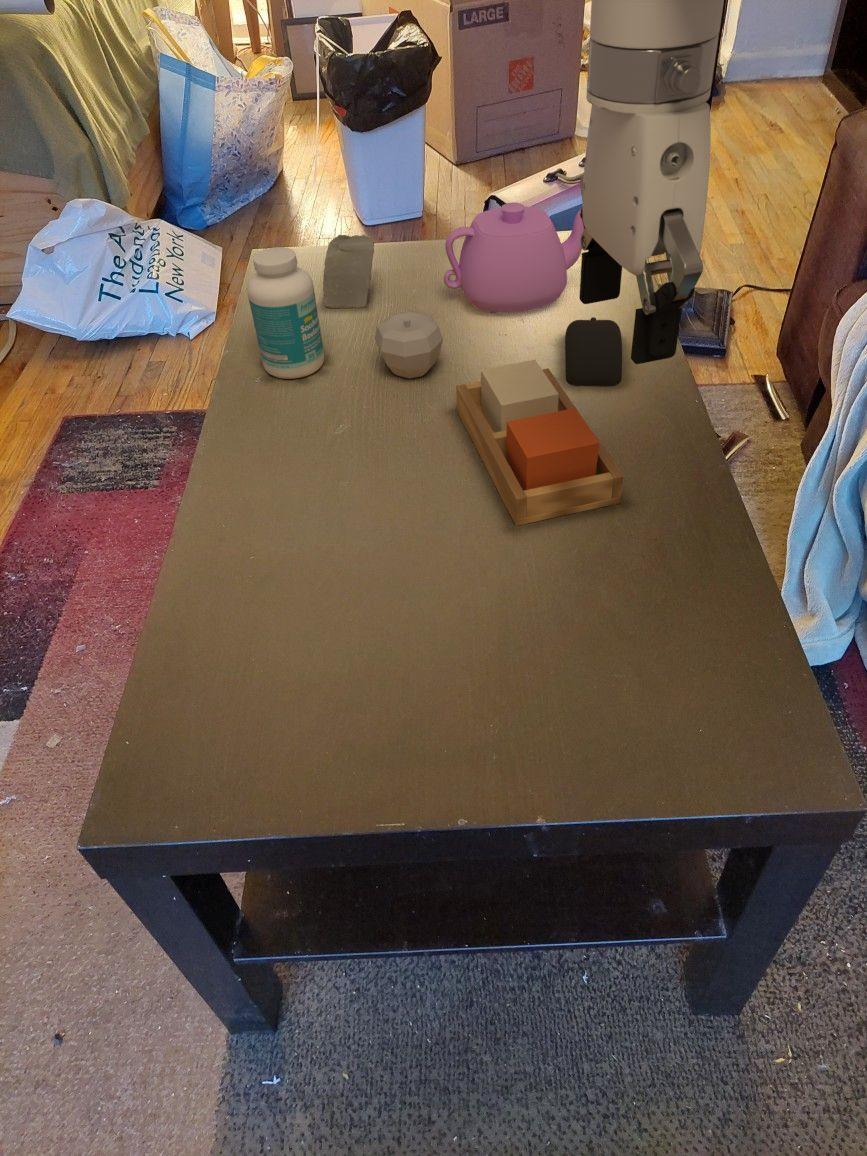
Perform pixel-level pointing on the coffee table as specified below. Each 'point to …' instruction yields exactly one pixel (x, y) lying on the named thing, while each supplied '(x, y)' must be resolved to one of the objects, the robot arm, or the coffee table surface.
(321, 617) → the coffee table surface
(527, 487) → the orange block
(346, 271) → the mineral specimen
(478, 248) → the teapot
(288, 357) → the pill bottle
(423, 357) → the apple
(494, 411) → the beige block
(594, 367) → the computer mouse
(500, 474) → the holder
